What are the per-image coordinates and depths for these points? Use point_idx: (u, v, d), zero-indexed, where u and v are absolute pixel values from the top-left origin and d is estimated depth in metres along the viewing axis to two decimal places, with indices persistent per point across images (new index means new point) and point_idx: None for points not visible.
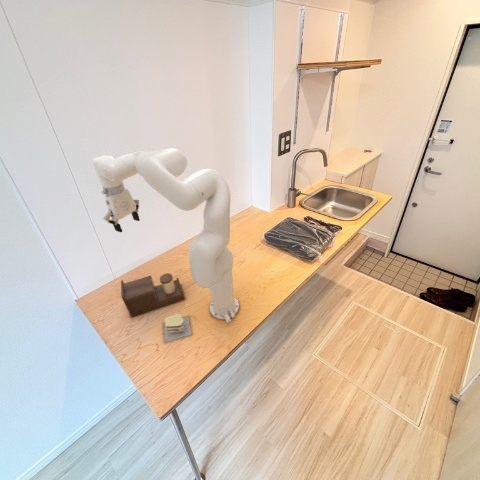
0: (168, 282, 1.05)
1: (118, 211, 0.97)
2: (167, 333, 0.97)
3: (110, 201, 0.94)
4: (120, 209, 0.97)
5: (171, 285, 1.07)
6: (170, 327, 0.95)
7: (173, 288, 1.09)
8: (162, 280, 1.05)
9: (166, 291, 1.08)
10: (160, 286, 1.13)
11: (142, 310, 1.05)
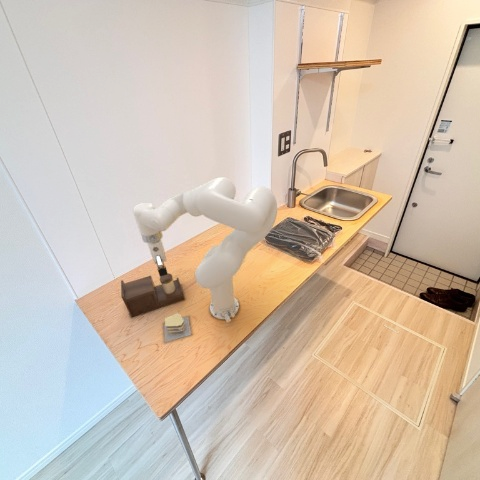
0: (168, 282, 1.05)
1: (164, 253, 0.96)
2: (167, 333, 0.97)
3: (159, 246, 0.92)
4: (164, 251, 0.97)
5: (171, 285, 1.07)
6: (170, 327, 0.95)
7: (173, 288, 1.09)
8: (162, 280, 1.05)
9: (166, 291, 1.08)
10: (160, 286, 1.13)
11: (142, 310, 1.05)
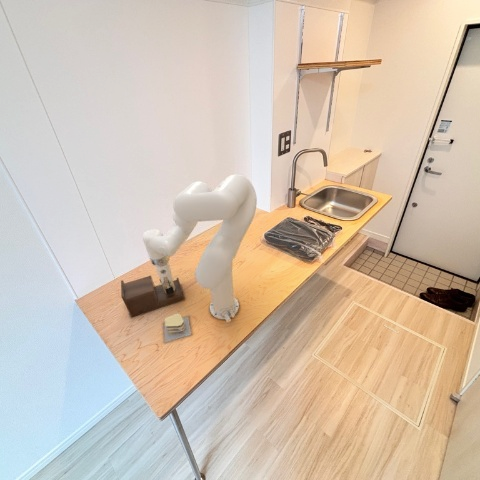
0: None
1: (171, 274, 1.03)
2: (167, 333, 0.97)
3: (167, 268, 0.99)
4: None
5: None
6: (170, 327, 0.95)
7: (173, 288, 1.09)
8: None
9: None
10: (160, 286, 1.13)
11: (142, 310, 1.05)
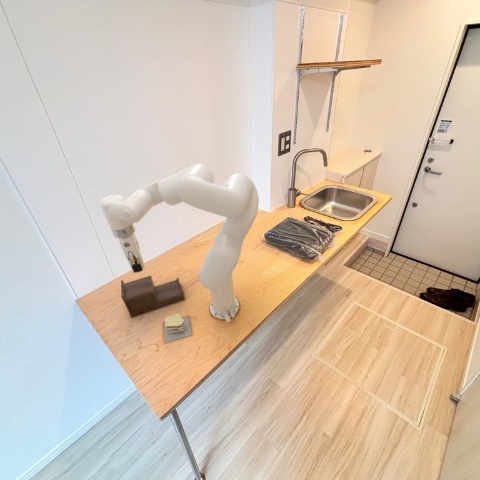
0: None
1: (137, 249, 0.90)
2: (167, 333, 0.97)
3: (131, 241, 0.87)
4: (137, 247, 0.91)
5: None
6: (170, 327, 0.95)
7: (142, 266, 0.97)
8: None
9: None
10: (160, 286, 1.13)
11: (142, 310, 1.05)
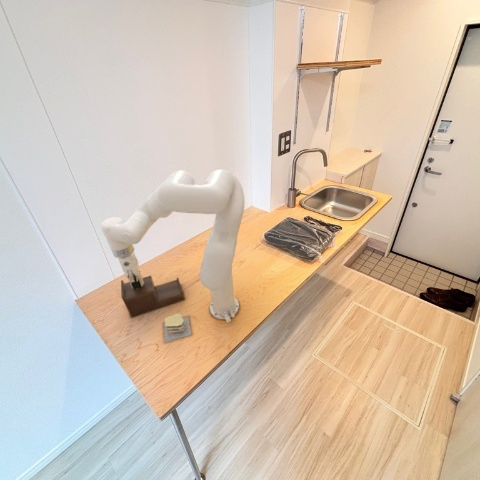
0: (134, 276, 0.97)
1: (137, 267, 0.94)
2: (167, 333, 0.97)
3: (130, 260, 0.91)
4: (136, 265, 0.95)
5: None
6: (170, 327, 0.95)
7: (141, 283, 1.01)
8: None
9: None
10: (160, 286, 1.13)
11: (142, 310, 1.05)
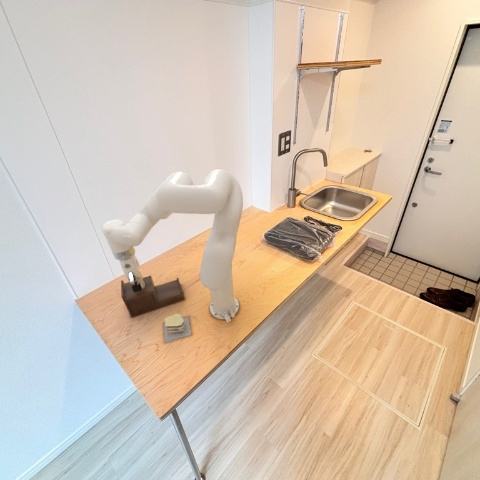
0: (135, 279, 0.98)
1: (137, 269, 0.95)
2: (167, 333, 0.97)
3: (131, 262, 0.91)
4: (137, 267, 0.96)
5: (139, 282, 1.00)
6: (170, 327, 0.95)
7: (142, 285, 1.02)
8: None
9: None
10: (160, 286, 1.13)
11: (142, 310, 1.05)
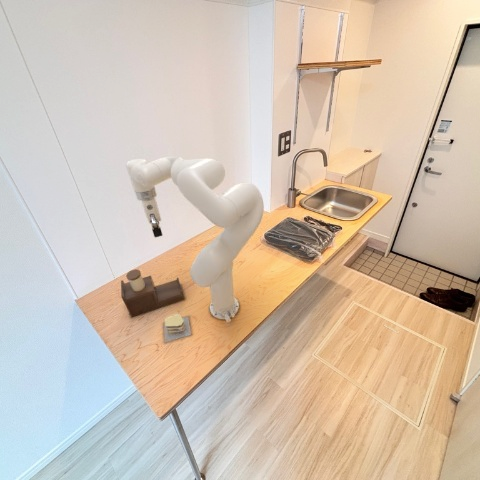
0: (135, 279, 0.98)
1: (159, 213, 0.96)
2: (167, 333, 0.97)
3: (153, 204, 0.92)
4: (158, 211, 0.96)
5: (139, 282, 1.00)
6: (170, 327, 0.95)
7: (142, 285, 1.02)
8: (129, 276, 0.98)
9: (134, 288, 1.01)
10: (160, 286, 1.13)
11: (142, 310, 1.05)
